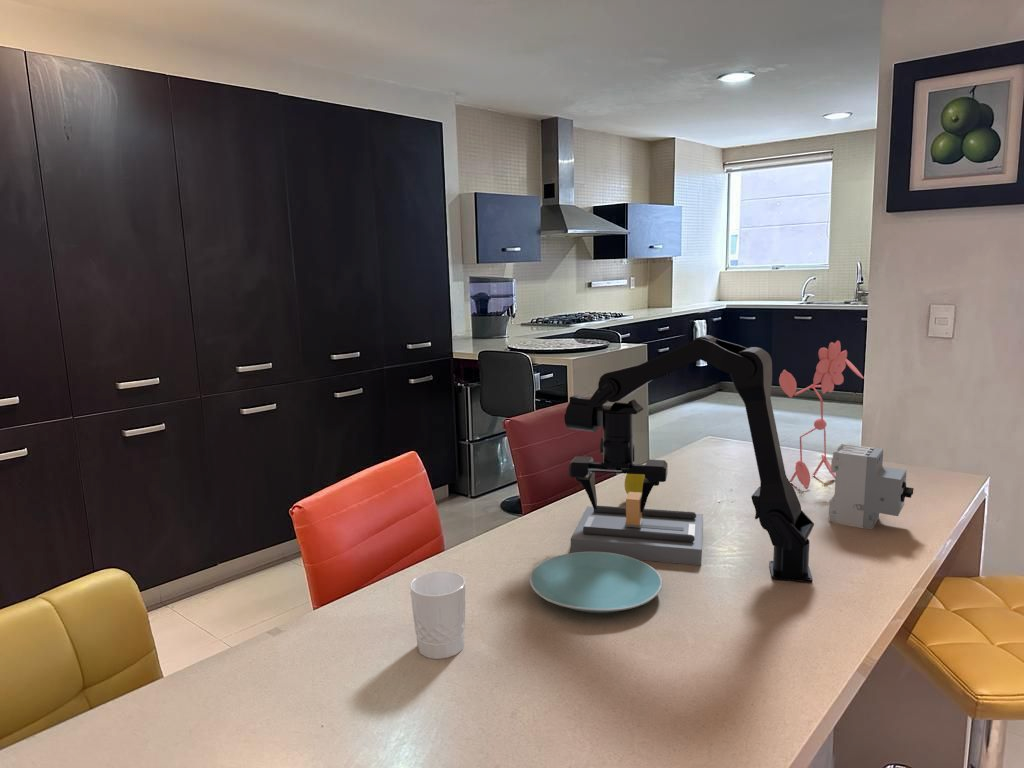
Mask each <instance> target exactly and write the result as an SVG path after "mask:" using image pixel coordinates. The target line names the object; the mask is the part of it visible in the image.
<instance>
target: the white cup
mask: <svg viewBox="0 0 1024 768" xmlns="http://www.w3.org/2000/svg"><path fill="white" fill-rule="evenodd" d="M409 588H410V598H411V606H412V607H411V608H412V616H413V617H412V618H413V622H414V631H415V635H416V636H415V637H416V644H417V650H418V652H419V653H420V654H421V655H422V656H424V657H425V658H428V659H433V660H439V659H442V660H443V659H448V658H450V657H451V658H452V657H454V656H456V655H457V654H459V653H460V652H461V651H462V650H464V649H463V648H464V646H465V627H466V578H465V577H464V576H463V575H461V574H460V573H458V572H455V571H451V570H450V571H449V570H434V571H429V572H425V573H423V574H420V575H418V576H416V577H414V578H413V579H412V581H411V582H410V584H409Z"/></svg>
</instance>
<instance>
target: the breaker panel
mask: <svg viewBox="0 0 1024 768" xmlns="http://www.w3.org/2000/svg"><path fill="white" fill-rule="evenodd" d="M695 514H696V518H695V519H683V518H669V517H655V516H642V518H643V522H642V525H641V528H638V527H625V523H626V514H614V513H600V512H594V508H593V506H586V508H585V510H584V512H583V514H582V516H581V518H580V519H579V521H578V523H577V525H576V527H575V529H574V532H573V534H572V536H571V537H570V553H576V552H607V553H614V554H620V555H624V556H628V557H631V558H634V559H637V560H639V561H647V562H648V561H651V562H660V563H661V562H662V563H674V564H684V565H697V566H702V561H703V560H702V556H703V555H702V553H703V533H704V513H703V514H700V513H695ZM584 526H585V527H598V528H611V529H623V530H636V531H649V532H662V533H675V534H687V535H693V536H694V538H695V540H694V541H693V542H678V541H666V540H654V539H641V538H629V537H617V536H604V535H592V534H583V527H584Z"/></svg>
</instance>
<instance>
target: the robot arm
mask: <svg viewBox="0 0 1024 768" xmlns="http://www.w3.org/2000/svg"><path fill="white" fill-rule="evenodd" d="M699 361H703V362H706V363H707V364H709V365H711V366H712V367H714V368H715V369H717V370H719V371H721V372H724V373H726V374H729V376H730V378H731V380H732V384H733V386H734V388H735V390H736V392H737V393H738V396H739V397H740V398H741V401H743V404H744V406H745V411H746V416H747V421H748V427H749V432H750V436H751V440H752V445H753V450H754V456H755V461H756V465H757V472H758V476H759V480H760V486H758V488H757V489H756V490H755V491H754V493H752V495H751V502H752V504H753V507H754V509H755V510H754V511H755V516H754V519H755V520H757V519H759V524H760V526H761V528H762V529H763V530H765V531H766V532H767V533H768V535H769V539H770V542H771V544H772V546H773V554H772V555H773V557H772V558H773V560H769V570H770V574H771V575H770V577H771V578H772V579H774V580H784V581H794V582H795V581H796V582H803V583H805V582H806V583H812V582H813V575H812V573H811V572H812V571H811V569H810V566H809V563H810V562H809V561H810V539H809V536H810V535H811V533H812V531H813V529H814V526H815V523H814V522H813V520H812V519H810V517H809V516H808V515H806V513H805V512H804V511H803V510H802V506H801V502H800V501H799V498H798V495H797V493H796V491H795V488H794V487H793V485H792V483H790V482H789V481H790V479H788V477H787V474H786V470H785V464H784V459H783V454H782V450H781V444H780V440H779V435H778V430H777V425H776V420H775V419H776V418H775V415H774V411H773V409H774V408H773V404H772V400H771V394H772V387H773V386H772V384H773V362H772V361H773V360H772V357H771V354H769V352H767V351H766V350H765V349H763V348H762V347H757V346H754V347H753V346H750V347H745V346H743V345H740V344H736V343H733V342H729V341H726V340H723V339H722V340H721V339H719V338H717V337H715V336H712V335H709V334H706V335H701V336H699V337H696V338H695V339H693V340H692V341H690V342H689V343H686V344H683V345H681V346H680V347H676V348H675V349H672V350H670V351H668V352H665V353H663V354H661V355H659V356H657V357H654V358H652V359H649V360H648V361H645V362H643V363H638V364H633V365H629V366H626V367H625V366H624V367H621V368H618V369H615V370H612V371H608V372H606V373H604V374H602V375H601V376H600V377H599V380H598V383H597V385H598V386H597V388H596V390H595V392H594V393H593V395H592V396H589V397H586V396H581V395H576V394H575V395H572V396H569V402H568V404H567V406H566V409H565V413H564V417H563V419H564V425H565V426H566V428H567V429H570V430H577V431H585V432H592V433H593V432H595V433H596V432H597V431H598V430H599V429H600V428H602V437H601V438H600V443H599V444H600V445H599V453H600V454H602V455H603V457H602V459H603V462H594V458H593V457H592V456H577V455H576V456H575V457H574V458H573V459H572V460H571V461H570V463H569V465H568V476H569V477H571V478H575V482H579V483H580V484H581V485H582V487H583V489H584V491H585V492H586V494H587V496H588V499H589V500H590V503H591V507H593V508H594V509H596V508H597V506H598V499H597V491H596V481H595V477H596V476H595V475H596V473H609V474H626V475H627V474H644V475H645V479H644V482H643V489H642V497H641V505H640V509H641V513H643V510H644V509H645V507H646V503H647V502H648V501H647V500H648V497H649V495H650V493H651V491H652V490H653V488H654V486H655V487H657V486H659V485H660V483H664V482H666V481H667V477H668V470H669V469H668V462H666V460H664V459H647V460H646V462H645V464H640V463H639V464H638V463H635V464H634V462H635V460H636V458H635V457H636V455H635V454H636V453H635V452H636V445H635V444H634V440H633V439H634V437H633V436H634V435H633V429H634V428H633V427H634V426H633V425H634V423H633V421H634V419H633V415H637V414H639V413H641V412H643V411H644V407H643V406H642V405H641V404H639V403H638V402H637V399H631V400H630V401H628V402H619V401H622V400H623V399H625V398H628V397H630V396H633V394H635V393H636V392H638V391H640V390H641V389H642V388H643V387H645V386H646V385H648V384H649V383H650V382H652V381H653V380H656V379H659V378H661V377H663V376H666V375H668V374H670V373H673V372H674V371H677V370H680V369H682V368H684V367H686V366H689V365H691V364H694V363H696V362H699ZM607 403H612V405H605V404H607Z"/></svg>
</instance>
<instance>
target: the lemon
mask: <svg viewBox="0 0 1024 768" xmlns="http://www.w3.org/2000/svg"><path fill="white" fill-rule="evenodd" d="M644 479H645V475H644V474H626V475H625V478H624V491H625V492H626V495H628V492H641V493H642V489H643V482H644Z"/></svg>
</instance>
